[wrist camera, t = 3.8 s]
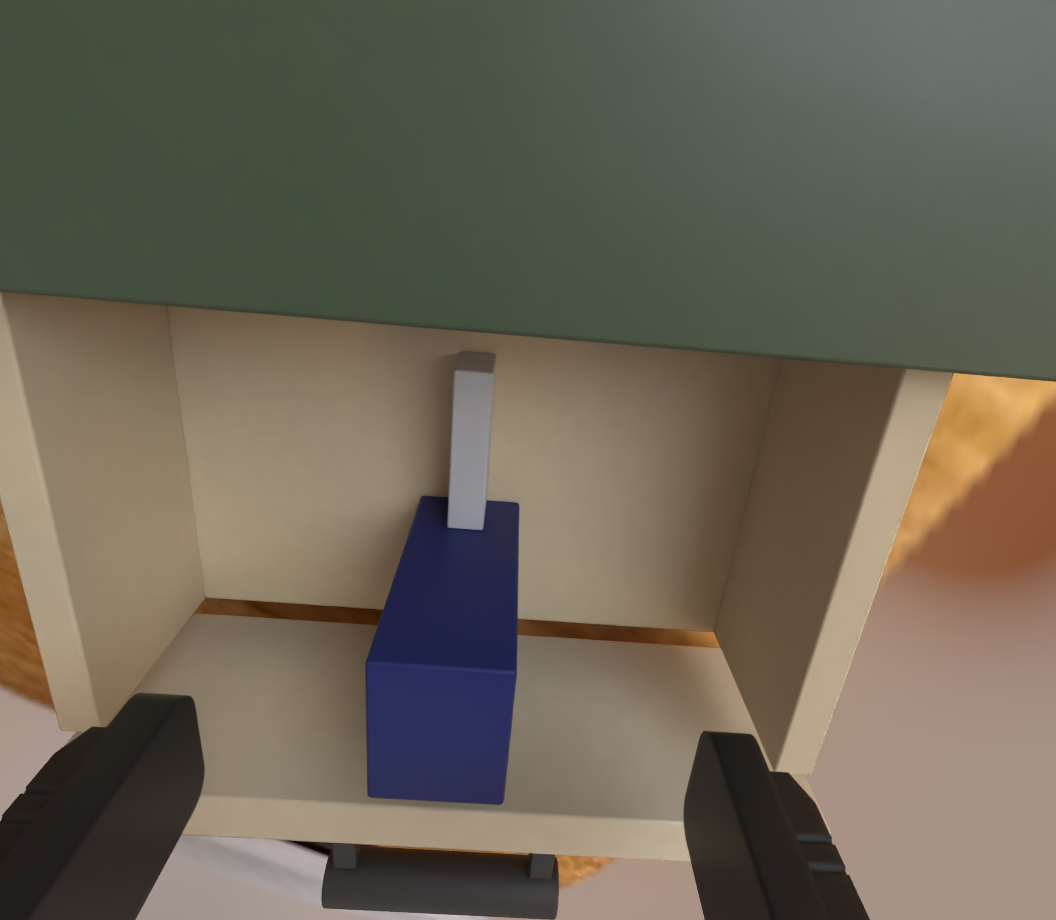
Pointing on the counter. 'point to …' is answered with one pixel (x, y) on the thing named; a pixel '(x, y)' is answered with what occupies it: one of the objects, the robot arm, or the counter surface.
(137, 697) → the robot arm
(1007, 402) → the counter surface
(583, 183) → the cabinet
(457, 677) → the blue block with post
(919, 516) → the counter surface
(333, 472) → the drawer
